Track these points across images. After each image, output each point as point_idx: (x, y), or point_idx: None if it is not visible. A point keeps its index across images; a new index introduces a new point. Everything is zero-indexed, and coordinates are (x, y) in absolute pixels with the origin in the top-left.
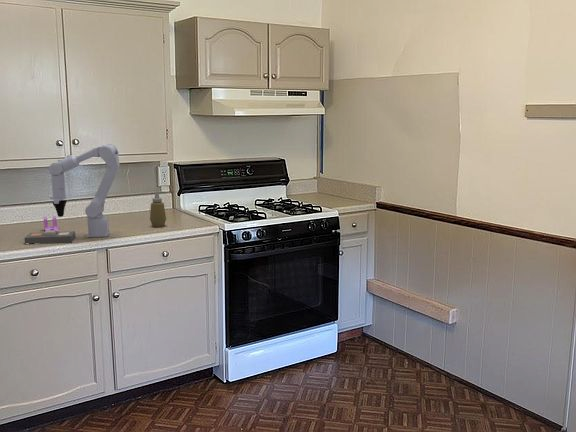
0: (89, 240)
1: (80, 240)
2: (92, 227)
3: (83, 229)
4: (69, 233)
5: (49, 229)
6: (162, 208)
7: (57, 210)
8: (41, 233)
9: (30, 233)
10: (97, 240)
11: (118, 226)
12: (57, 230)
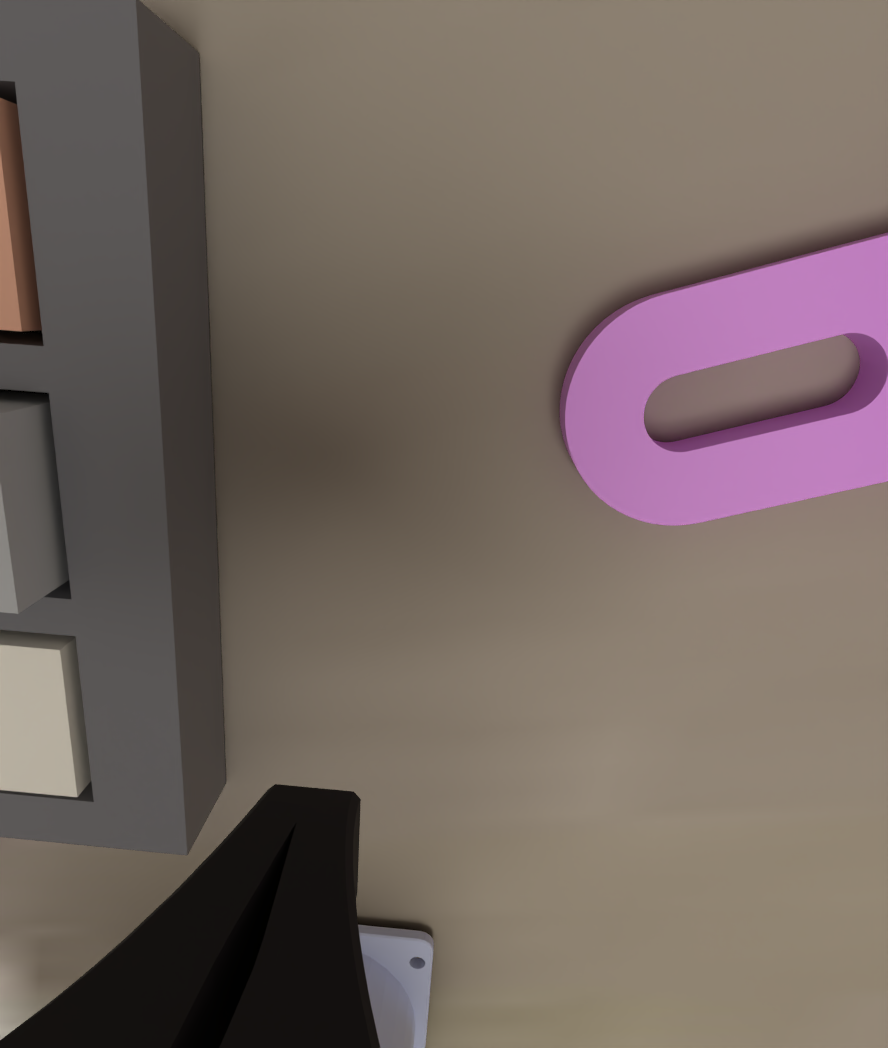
0: (39, 937)
1: (45, 846)
2: None
3: (803, 847)
4: (42, 786)
5: (840, 330)
6: None
7: (164, 964)
8: (2, 306)
9: (73, 19)
10: (34, 1010)
11: None
12: (671, 505)
